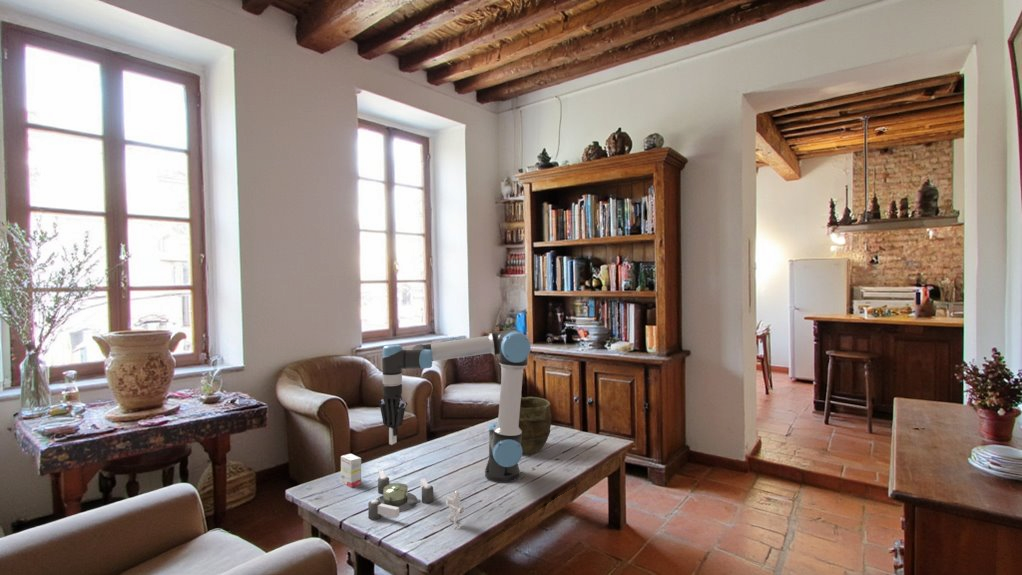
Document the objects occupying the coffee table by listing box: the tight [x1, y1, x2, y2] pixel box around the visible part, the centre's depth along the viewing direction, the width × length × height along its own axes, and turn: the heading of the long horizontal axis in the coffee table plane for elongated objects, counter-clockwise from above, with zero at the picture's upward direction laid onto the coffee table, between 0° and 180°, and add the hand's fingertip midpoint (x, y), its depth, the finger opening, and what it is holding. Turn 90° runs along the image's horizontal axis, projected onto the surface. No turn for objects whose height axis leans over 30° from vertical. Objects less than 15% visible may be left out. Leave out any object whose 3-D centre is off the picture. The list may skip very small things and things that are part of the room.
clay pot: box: [519, 396, 553, 456], centre depth 241 cm, size 25×25×25 cm
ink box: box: [340, 453, 362, 489], centre depth 201 cm, size 9×5×12 cm, turn 49°
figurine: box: [445, 490, 466, 530], centre depth 167 cm, size 5×9×12 cm, turn 57°
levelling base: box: [375, 482, 421, 513], centre depth 180 cm, size 26×23×7 cm
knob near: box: [419, 477, 434, 505], centre depth 188 cm, size 12×4×6 cm, turn 21°
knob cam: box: [367, 499, 400, 521], centre depth 170 cm, size 12×4×6 cm, turn 66°
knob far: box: [377, 469, 390, 495], centre depth 196 cm, size 12×4×6 cm, turn 21°
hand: (392, 443), depth 190 cm, fingers closed
